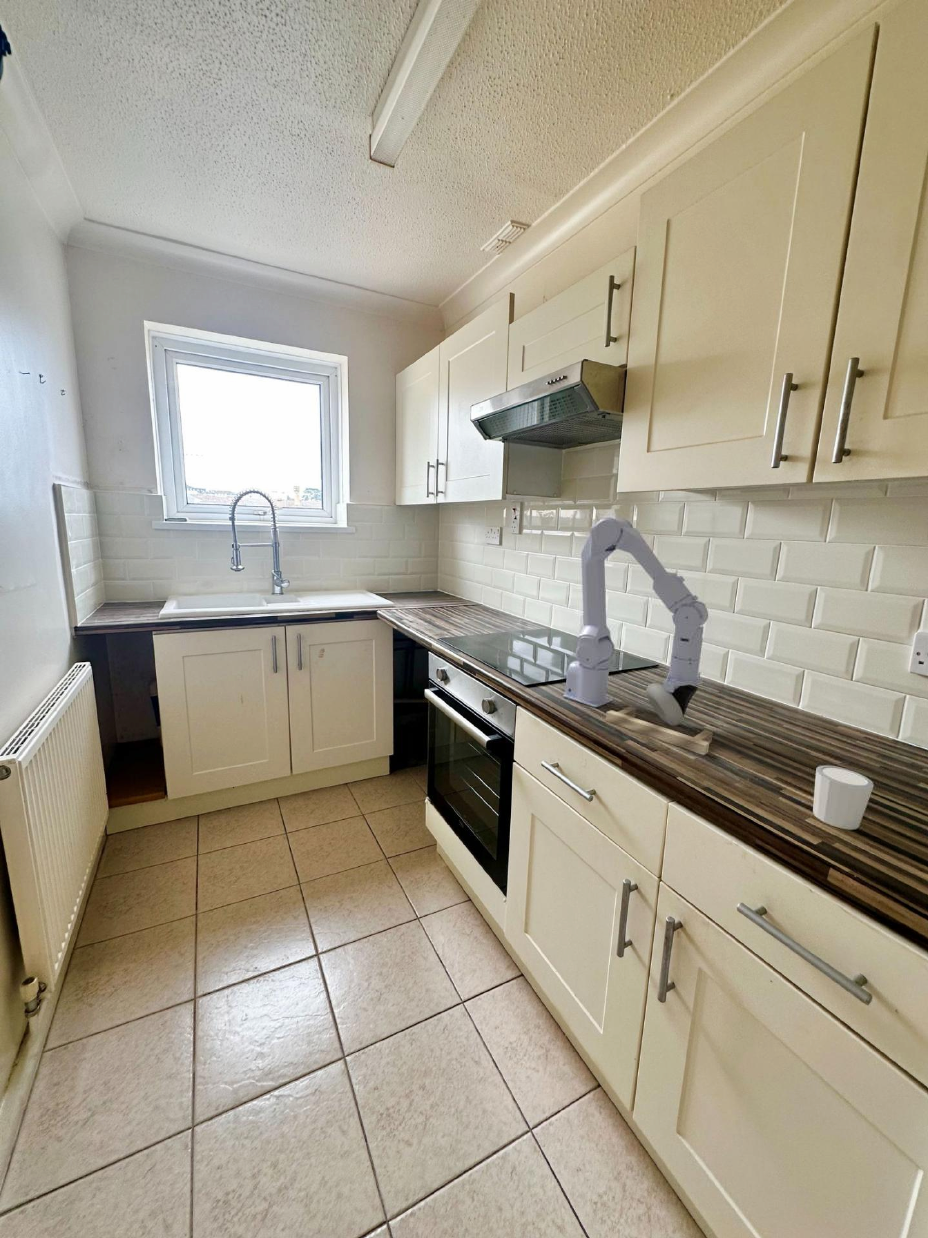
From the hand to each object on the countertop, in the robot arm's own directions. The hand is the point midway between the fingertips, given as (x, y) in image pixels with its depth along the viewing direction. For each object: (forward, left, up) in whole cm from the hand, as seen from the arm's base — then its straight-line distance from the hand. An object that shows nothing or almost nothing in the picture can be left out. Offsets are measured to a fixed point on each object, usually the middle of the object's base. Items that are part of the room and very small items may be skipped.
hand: (677, 716), depth 109 cm
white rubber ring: (0, -2, -1) cm, 2 cm away
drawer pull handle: (0, -8, -2) cm, 8 cm away
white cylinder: (+32, -18, -2) cm, 37 cm away
